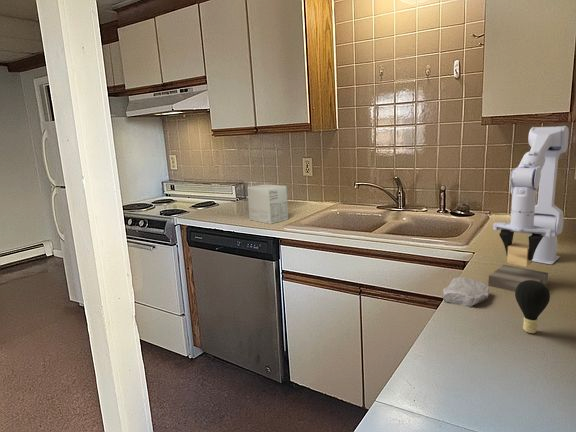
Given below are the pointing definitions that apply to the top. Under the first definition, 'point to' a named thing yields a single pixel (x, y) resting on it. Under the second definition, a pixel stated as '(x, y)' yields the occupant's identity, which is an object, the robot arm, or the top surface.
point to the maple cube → (518, 254)
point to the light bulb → (532, 302)
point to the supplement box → (268, 203)
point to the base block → (514, 277)
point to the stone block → (465, 292)
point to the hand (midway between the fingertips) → (519, 257)
